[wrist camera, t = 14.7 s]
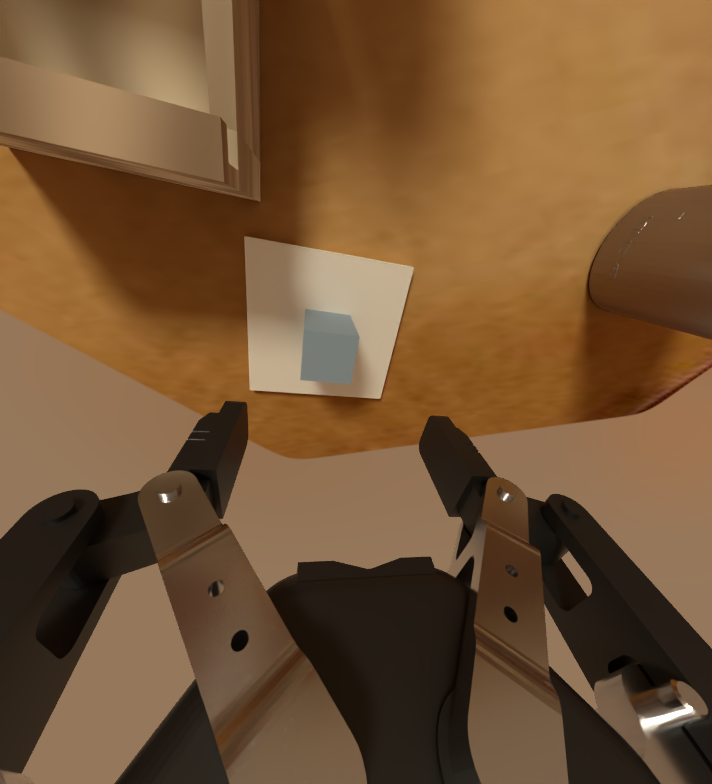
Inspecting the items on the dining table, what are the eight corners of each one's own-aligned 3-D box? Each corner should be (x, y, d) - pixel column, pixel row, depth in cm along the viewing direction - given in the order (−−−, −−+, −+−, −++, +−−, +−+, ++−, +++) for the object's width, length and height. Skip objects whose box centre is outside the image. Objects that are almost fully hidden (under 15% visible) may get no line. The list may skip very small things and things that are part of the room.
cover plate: (409, 265, 21) (441, 277, 16) (377, 392, 27) (393, 432, 21) (247, 235, 18) (222, 238, 13) (252, 383, 24) (236, 425, 19)
